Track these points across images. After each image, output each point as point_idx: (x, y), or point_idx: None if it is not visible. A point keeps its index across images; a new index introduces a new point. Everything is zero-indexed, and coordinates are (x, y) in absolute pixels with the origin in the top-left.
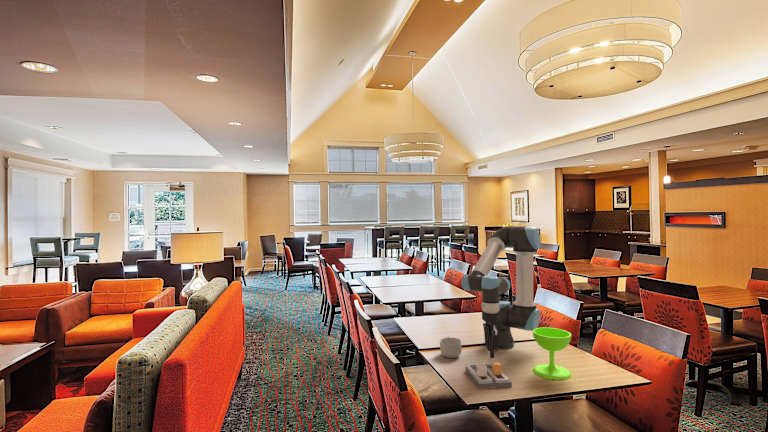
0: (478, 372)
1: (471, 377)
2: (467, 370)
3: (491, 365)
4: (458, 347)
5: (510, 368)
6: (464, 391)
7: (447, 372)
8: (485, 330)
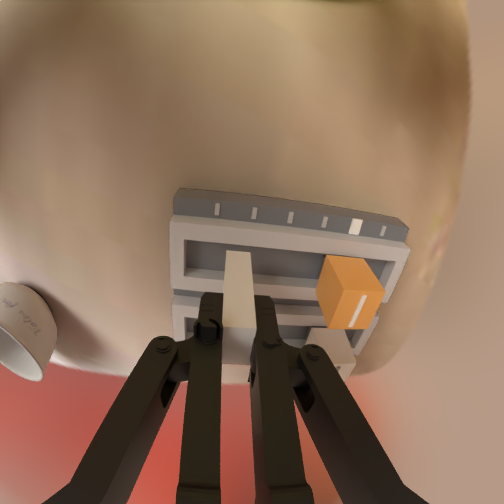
0: None
1: None
2: None
3: (200, 238)
4: (29, 331)
5: (177, 84)
6: None
7: None
8: (129, 495)
